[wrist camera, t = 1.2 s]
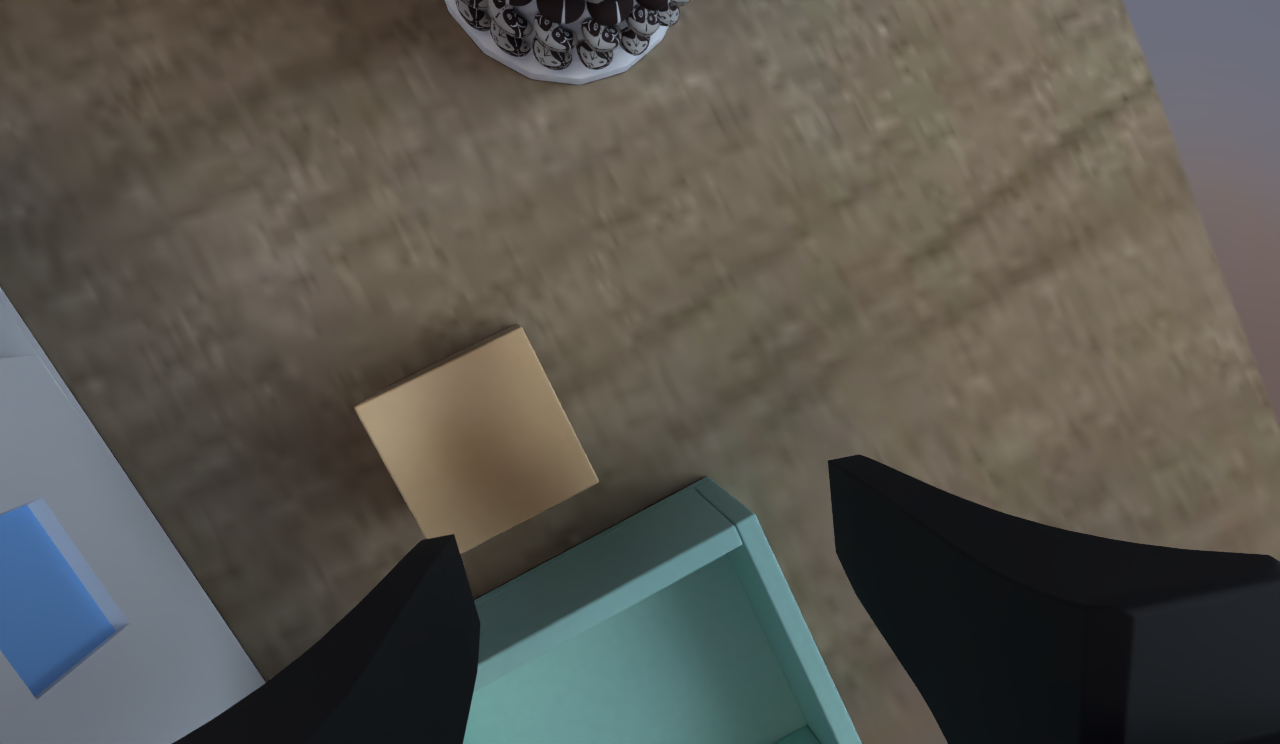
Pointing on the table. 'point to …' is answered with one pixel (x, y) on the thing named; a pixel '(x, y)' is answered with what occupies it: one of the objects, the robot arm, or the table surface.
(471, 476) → the beech block
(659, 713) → the desk bin
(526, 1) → the decorative candle
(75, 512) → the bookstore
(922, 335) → the table surface
